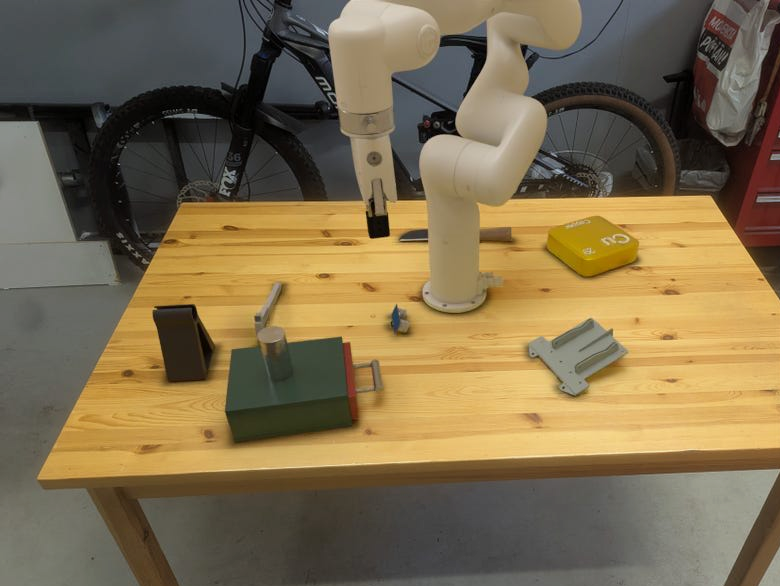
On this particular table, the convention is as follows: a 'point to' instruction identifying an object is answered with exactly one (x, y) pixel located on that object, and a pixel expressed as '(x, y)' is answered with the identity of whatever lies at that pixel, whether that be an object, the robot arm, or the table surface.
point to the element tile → (592, 245)
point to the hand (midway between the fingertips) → (379, 235)
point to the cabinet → (288, 392)
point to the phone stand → (183, 342)
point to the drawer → (351, 379)
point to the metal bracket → (578, 354)
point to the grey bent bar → (267, 309)
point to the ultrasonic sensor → (399, 320)
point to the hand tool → (485, 234)
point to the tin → (275, 353)
